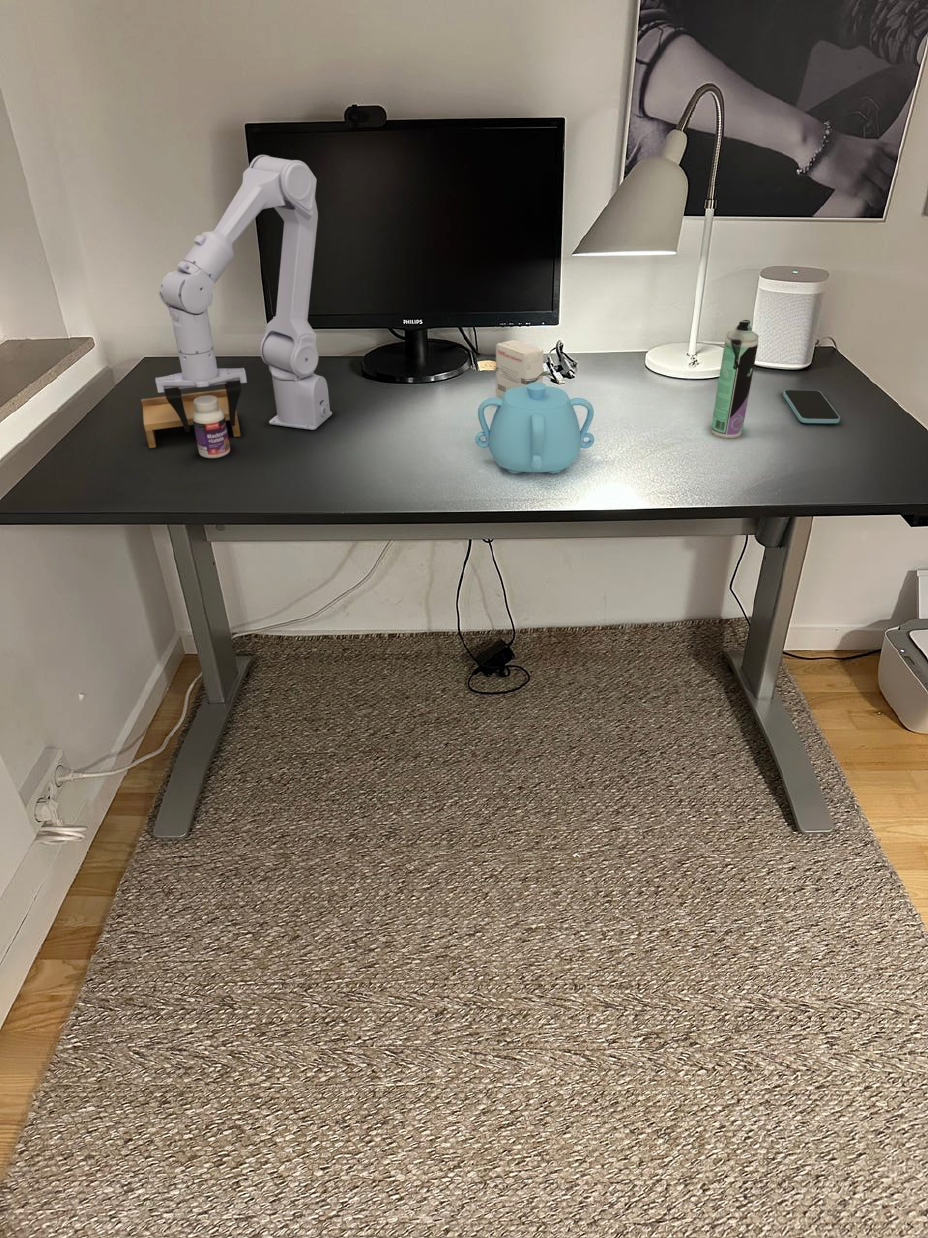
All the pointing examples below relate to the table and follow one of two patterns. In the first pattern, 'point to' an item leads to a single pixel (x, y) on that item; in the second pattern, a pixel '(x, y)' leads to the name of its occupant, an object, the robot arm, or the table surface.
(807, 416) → the smartphone
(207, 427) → the pill bottle
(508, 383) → the ink box
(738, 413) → the spray can
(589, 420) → the decorative pot
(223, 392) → the desk shelf
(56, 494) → the table surface
